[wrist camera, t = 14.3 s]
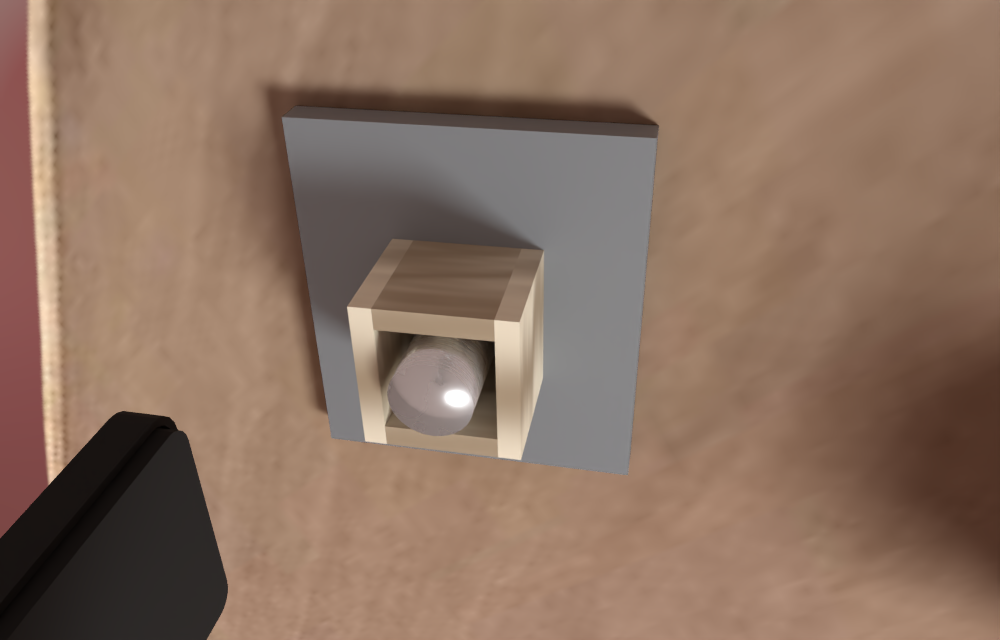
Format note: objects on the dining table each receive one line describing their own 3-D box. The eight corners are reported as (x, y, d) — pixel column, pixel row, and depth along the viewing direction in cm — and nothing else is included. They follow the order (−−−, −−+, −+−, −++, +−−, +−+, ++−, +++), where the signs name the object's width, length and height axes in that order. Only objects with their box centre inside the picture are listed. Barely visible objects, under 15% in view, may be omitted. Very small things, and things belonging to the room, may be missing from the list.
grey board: (295, 105, 39) (281, 116, 37) (658, 125, 36) (656, 138, 34) (341, 420, 48) (331, 438, 47) (630, 455, 45) (627, 475, 44)
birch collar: (392, 238, 39) (347, 306, 34) (543, 250, 38) (519, 322, 33) (404, 364, 43) (365, 441, 38) (543, 378, 42) (521, 459, 37)
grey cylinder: (430, 274, 40) (383, 360, 34) (506, 281, 39) (472, 370, 34) (434, 339, 42) (391, 430, 36) (507, 346, 41) (474, 440, 36)
